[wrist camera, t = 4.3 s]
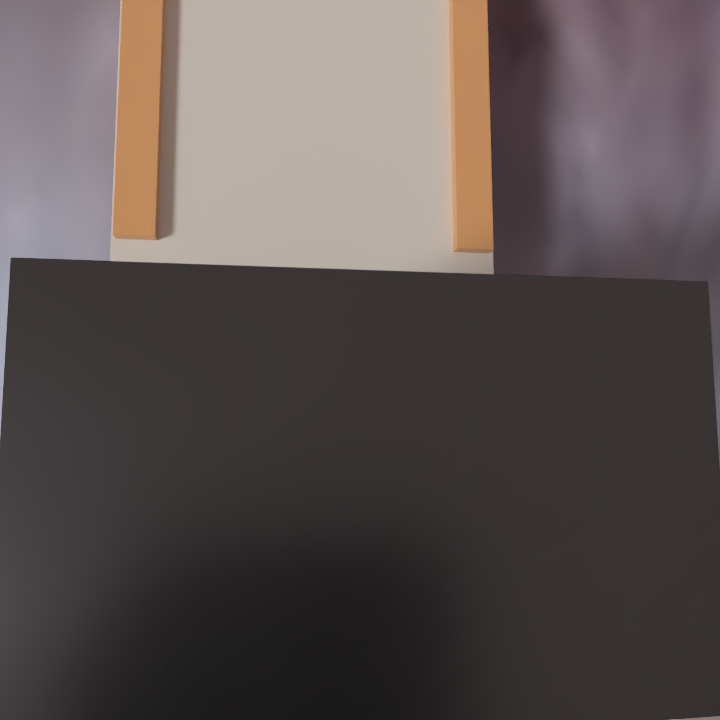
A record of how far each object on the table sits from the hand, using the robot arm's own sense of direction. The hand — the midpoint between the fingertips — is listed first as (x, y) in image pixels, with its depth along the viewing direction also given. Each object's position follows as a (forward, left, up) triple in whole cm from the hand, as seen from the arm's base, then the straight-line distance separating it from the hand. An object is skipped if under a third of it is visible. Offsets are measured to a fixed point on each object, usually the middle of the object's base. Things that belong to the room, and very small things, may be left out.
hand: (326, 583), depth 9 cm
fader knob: (+2, 0, -3) cm, 4 cm away
